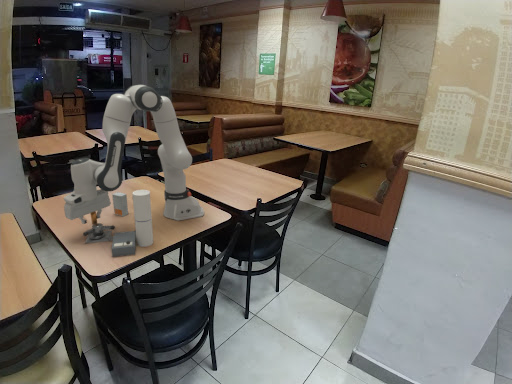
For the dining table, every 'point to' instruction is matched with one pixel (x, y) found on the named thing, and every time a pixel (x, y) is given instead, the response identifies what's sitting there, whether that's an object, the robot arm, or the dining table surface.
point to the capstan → (97, 228)
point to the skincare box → (120, 204)
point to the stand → (119, 242)
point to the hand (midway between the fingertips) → (91, 220)
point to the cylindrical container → (143, 217)
